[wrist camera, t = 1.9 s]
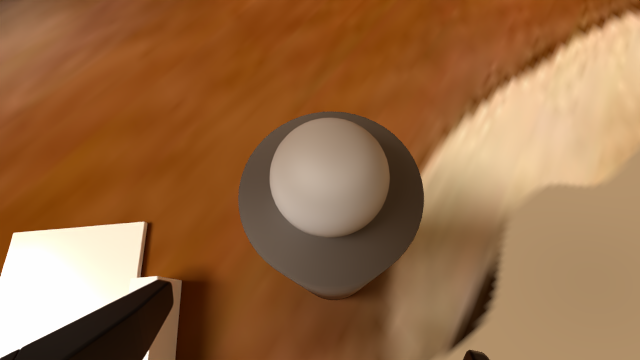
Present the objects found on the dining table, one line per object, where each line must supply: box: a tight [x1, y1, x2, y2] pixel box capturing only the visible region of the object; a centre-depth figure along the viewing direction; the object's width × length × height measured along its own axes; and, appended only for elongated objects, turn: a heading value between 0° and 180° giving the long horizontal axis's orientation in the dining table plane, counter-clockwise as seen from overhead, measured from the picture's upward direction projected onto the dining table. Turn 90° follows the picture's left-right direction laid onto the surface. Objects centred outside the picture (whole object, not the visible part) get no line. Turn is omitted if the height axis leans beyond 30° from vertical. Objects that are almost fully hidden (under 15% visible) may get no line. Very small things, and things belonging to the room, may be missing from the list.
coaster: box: [0, 222, 148, 358], centre depth 20 cm, size 9×9×1 cm
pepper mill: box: [238, 112, 424, 300], centre depth 13 cm, size 5×5×15 cm
